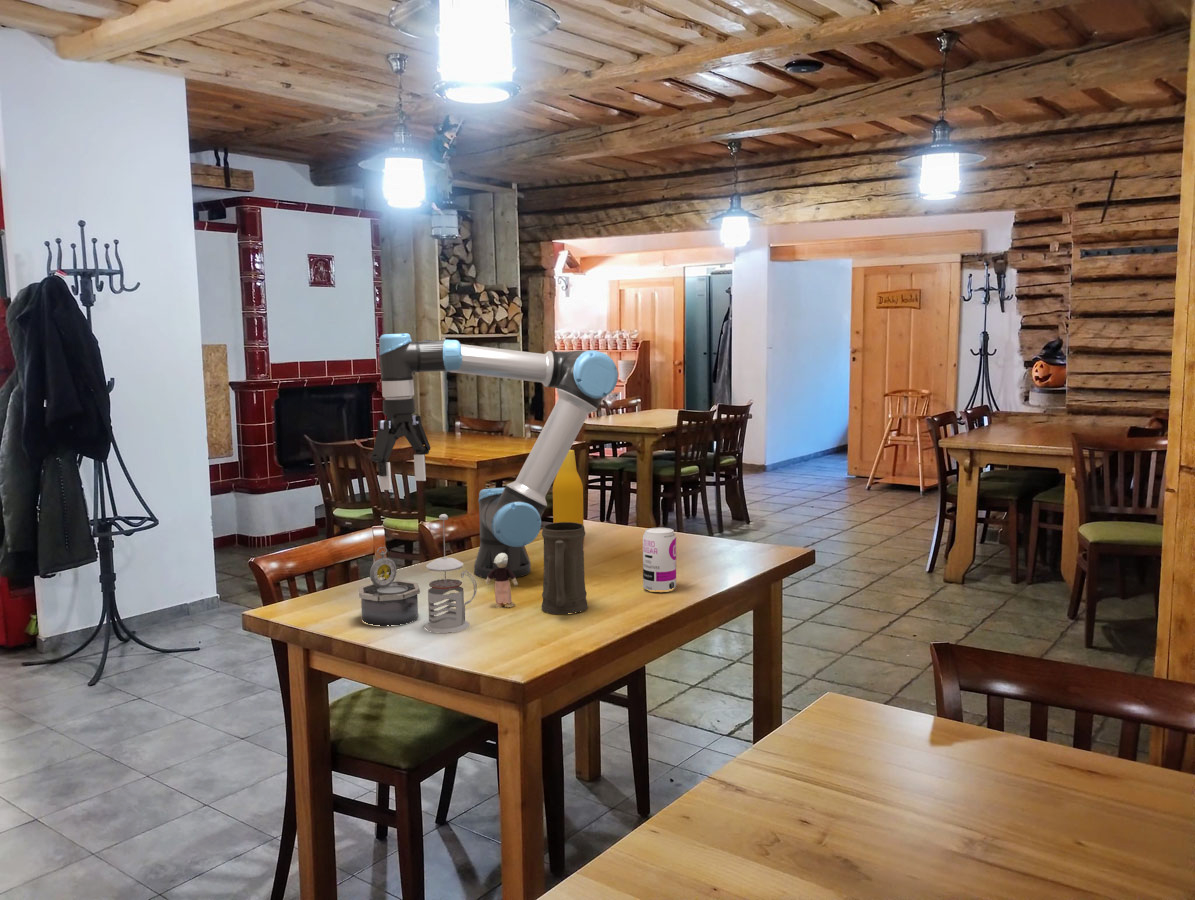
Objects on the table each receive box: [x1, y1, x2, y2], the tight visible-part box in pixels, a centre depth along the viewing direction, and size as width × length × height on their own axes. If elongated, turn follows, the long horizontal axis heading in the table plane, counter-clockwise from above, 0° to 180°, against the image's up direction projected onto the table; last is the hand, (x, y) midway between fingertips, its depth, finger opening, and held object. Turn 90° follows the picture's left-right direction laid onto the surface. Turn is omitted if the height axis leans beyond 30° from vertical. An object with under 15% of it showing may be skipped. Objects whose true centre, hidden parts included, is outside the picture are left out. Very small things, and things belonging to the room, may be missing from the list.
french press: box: [424, 513, 478, 634], centre depth 208 cm, size 10×12×25 cm
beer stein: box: [541, 522, 589, 615], centre depth 218 cm, size 15×11×20 cm
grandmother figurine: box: [485, 553, 519, 608], centre depth 224 cm, size 8×4×13 cm, turn 91°
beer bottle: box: [552, 449, 585, 545], centre depth 287 cm, size 9×9×29 cm
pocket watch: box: [369, 546, 408, 595], centre depth 214 cm, size 8×8×10 cm
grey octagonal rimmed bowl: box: [358, 579, 421, 627], centre depth 215 cm, size 13×13×7 cm
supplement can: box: [642, 527, 677, 591], centre depth 236 cm, size 8×8×15 cm
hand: (403, 485), depth 233 cm, fingers open, 13 cm apart
